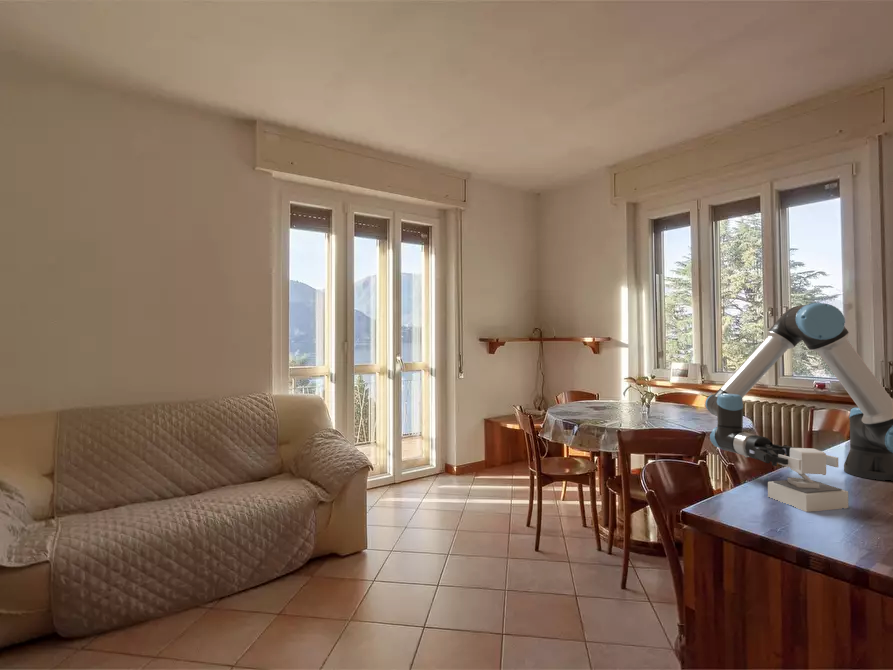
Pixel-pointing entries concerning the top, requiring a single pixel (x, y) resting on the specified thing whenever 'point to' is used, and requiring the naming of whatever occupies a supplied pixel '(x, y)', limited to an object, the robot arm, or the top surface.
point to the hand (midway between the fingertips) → (819, 463)
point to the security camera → (808, 466)
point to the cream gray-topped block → (808, 496)
